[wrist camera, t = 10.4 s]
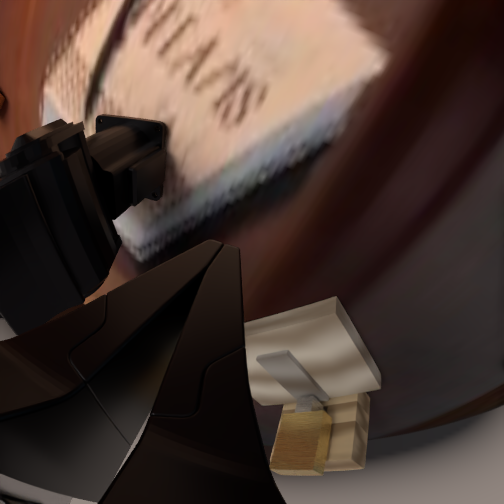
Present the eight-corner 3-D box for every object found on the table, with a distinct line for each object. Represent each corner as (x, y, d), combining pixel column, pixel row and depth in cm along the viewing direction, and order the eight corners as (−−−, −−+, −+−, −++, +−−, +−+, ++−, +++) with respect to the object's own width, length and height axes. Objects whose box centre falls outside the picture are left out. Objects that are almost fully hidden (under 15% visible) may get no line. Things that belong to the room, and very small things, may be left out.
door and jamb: (202, 333, 33) (167, 408, 25) (336, 296, 25) (325, 401, 17) (285, 410, 40) (270, 470, 32) (391, 393, 32) (389, 465, 24)
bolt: (286, 399, 32) (268, 469, 25) (325, 394, 29) (312, 470, 22) (311, 421, 34) (299, 483, 27) (347, 417, 32) (338, 483, 25)
